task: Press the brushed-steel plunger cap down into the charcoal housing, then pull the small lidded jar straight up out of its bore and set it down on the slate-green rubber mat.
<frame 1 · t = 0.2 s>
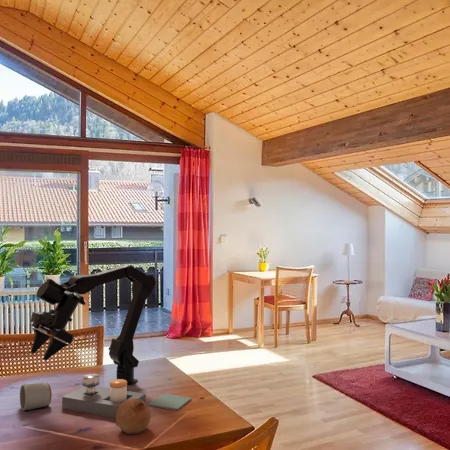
hand: (38, 356, 158), 15 cm above the table, tool tilted 30°, fingers open, 9 cm apart
onion: (133, 432, 138), on the table
small lidded jar: (118, 409, 153), resting on housing
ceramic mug: (33, 407, 156), on the table
housing: (104, 408, 154), on the table
plunger: (90, 387, 156), point 6 cm above the table, slide at 0.0 cm
mat: (170, 404, 158), on the table
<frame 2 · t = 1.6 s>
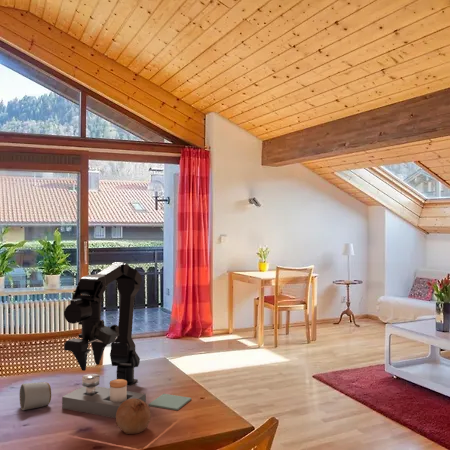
hand: (90, 367, 156), 12 cm above the table, tool pointing down, fingers open, 7 cm apart
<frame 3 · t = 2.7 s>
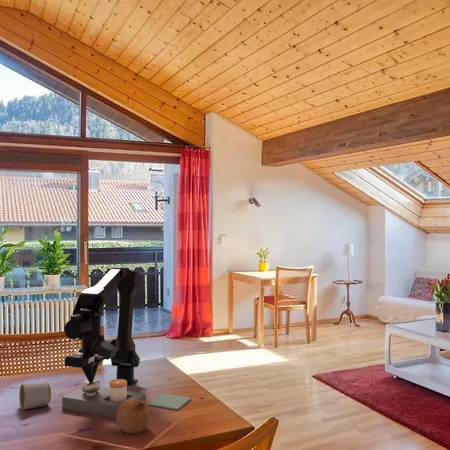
hand: (91, 382, 156), 7 cm above the table, tool pointing down, fingers closed, pressing on plunger
plunger: (90, 393, 156), point 4 cm above the table, slide at 1.8 cm, touching gripper
everything else where it was.
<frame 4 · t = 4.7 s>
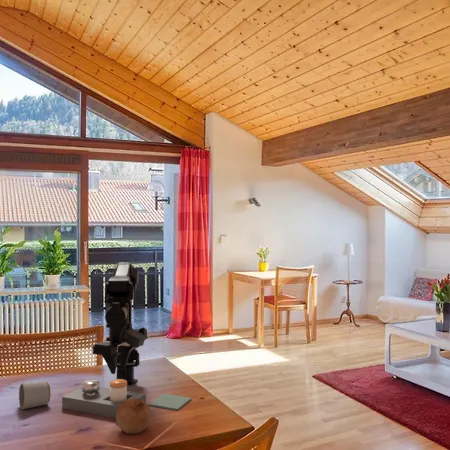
hand: (118, 371, 152), 12 cm above the table, tool pointing down, fingers open, 5 cm apart
plunger: (90, 393, 156), point 4 cm above the table, slide at 1.9 cm, touching housing
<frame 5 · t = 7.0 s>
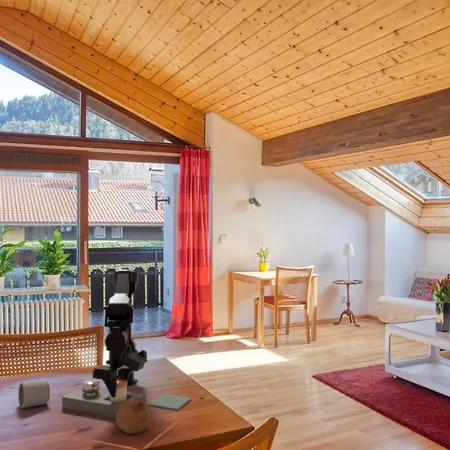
hand: (118, 394, 152), 5 cm above the table, tool pointing down, fingers closed on small lidded jar, 5 cm apart
small lidded jar: (118, 409, 153), point 1 cm above the table, touching gripper, housing
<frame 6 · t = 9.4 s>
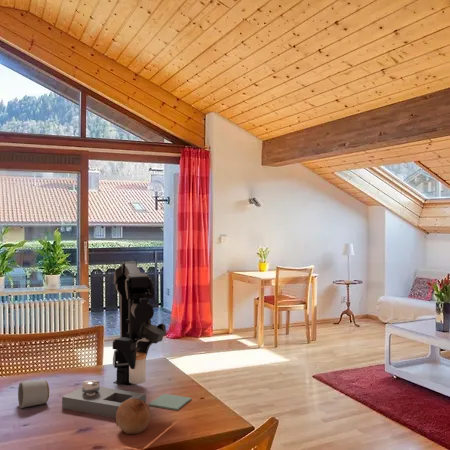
hand: (137, 366, 154), 13 cm above the table, tool pointing down, fingers closed on small lidded jar, 5 cm apart
small lidded jar: (137, 381, 155), point 8 cm above the table, touching gripper
when the fingers open (7 cm above the table, at t = 11.9 s): small lidded jar drops 1 cm, resting on mat.
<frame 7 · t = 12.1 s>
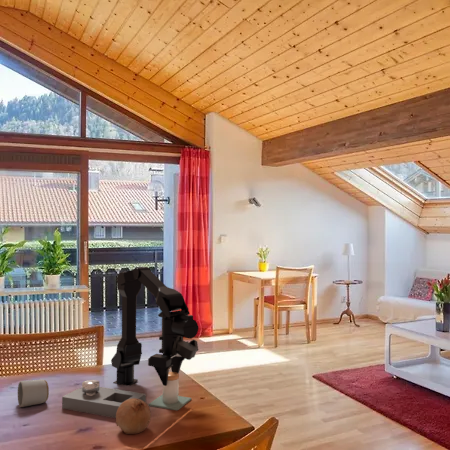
hand: (170, 381, 158), 7 cm above the table, tool pointing down, fingers open, 7 cm apart
small lidded jar: (170, 400, 158), point 1 cm above the table, touching mat
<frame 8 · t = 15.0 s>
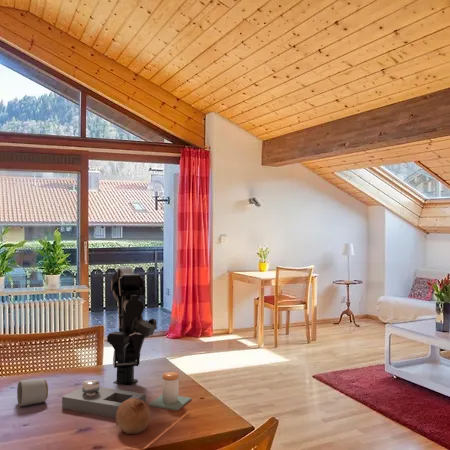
hand: (130, 358, 166), 12 cm above the table, tool pointing down, fingers open, 9 cm apart
at the end: plunger slide at 1.9 cm; small lidded jar inside the target area (0.0 cm from its centre), point 1.0 cm above the table; small lidded jar tilted 0° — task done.
